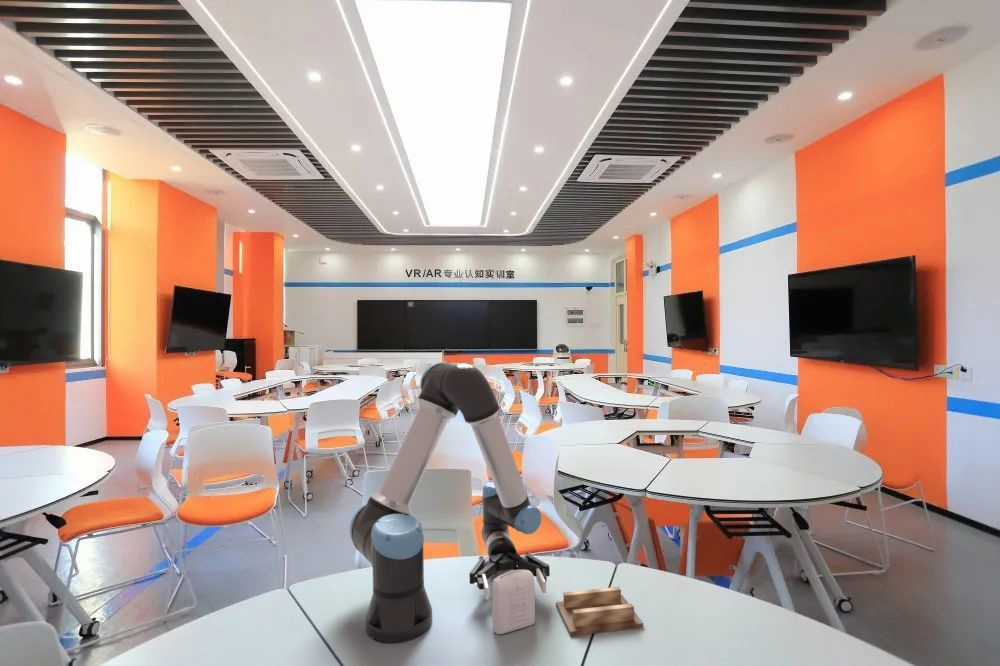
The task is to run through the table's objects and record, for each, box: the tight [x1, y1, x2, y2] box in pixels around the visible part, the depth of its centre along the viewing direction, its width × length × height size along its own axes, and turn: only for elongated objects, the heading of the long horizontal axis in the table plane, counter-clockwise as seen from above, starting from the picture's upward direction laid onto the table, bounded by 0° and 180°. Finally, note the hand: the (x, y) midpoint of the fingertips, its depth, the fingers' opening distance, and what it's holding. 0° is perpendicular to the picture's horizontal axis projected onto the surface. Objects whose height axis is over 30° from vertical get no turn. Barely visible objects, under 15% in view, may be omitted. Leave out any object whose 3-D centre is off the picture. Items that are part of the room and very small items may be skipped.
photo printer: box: [491, 570, 536, 635], centre depth 111 cm, size 10×4×12 cm, turn 116°
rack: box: [555, 586, 644, 637], centre depth 114 cm, size 17×12×4 cm
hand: (516, 590), depth 114 cm, fingers open, 13 cm apart
